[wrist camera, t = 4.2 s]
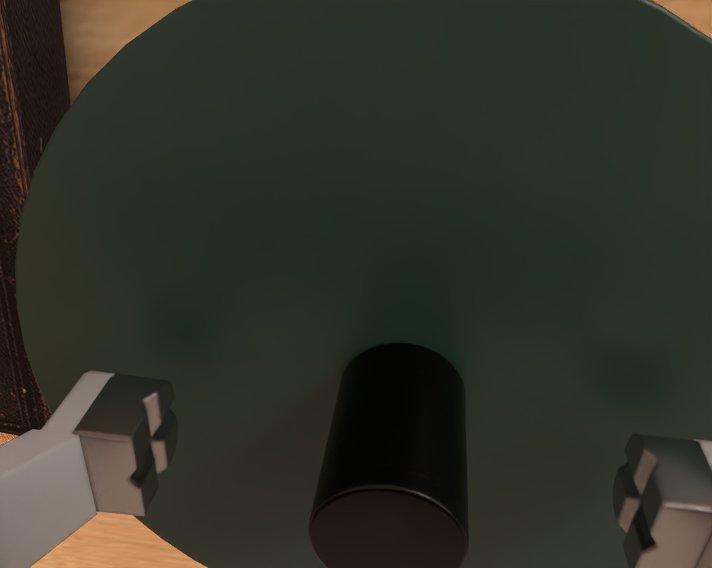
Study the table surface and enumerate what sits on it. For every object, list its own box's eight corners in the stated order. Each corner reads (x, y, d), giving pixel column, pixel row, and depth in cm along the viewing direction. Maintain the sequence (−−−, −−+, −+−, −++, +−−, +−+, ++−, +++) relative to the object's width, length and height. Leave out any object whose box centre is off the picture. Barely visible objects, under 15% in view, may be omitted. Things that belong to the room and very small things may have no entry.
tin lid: (1005, -30, 9) (1432, 34, 5) (678, 624, 17) (747, 848, 13) (-41, -89, 10) (-345, -72, 6) (107, 545, 18) (11, 727, 14)
